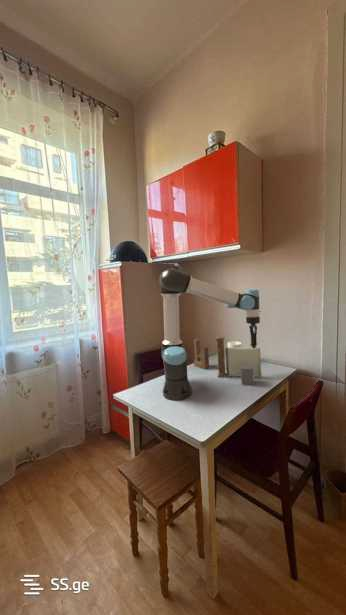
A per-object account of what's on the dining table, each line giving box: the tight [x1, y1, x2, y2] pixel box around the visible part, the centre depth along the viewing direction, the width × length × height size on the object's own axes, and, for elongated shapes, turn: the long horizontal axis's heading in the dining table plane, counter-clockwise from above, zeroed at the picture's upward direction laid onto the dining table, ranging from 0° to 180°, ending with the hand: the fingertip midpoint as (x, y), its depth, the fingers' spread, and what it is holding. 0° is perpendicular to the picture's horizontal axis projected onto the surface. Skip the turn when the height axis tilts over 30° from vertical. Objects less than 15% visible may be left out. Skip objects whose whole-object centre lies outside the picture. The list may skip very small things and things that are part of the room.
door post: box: [215, 336, 228, 379], centre depth 147 cm, size 5×5×23 cm
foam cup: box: [227, 340, 243, 348], centre depth 171 cm, size 10×9×13 cm
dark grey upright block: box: [240, 365, 254, 386], centre depth 136 cm, size 6×6×9 cm
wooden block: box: [193, 338, 210, 370], centre depth 165 cm, size 4×11×18 cm, turn 38°
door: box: [225, 347, 262, 377], centre depth 144 cm, size 19×2×16 cm, turn 77°
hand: (254, 355), depth 146 cm, fingers closed
